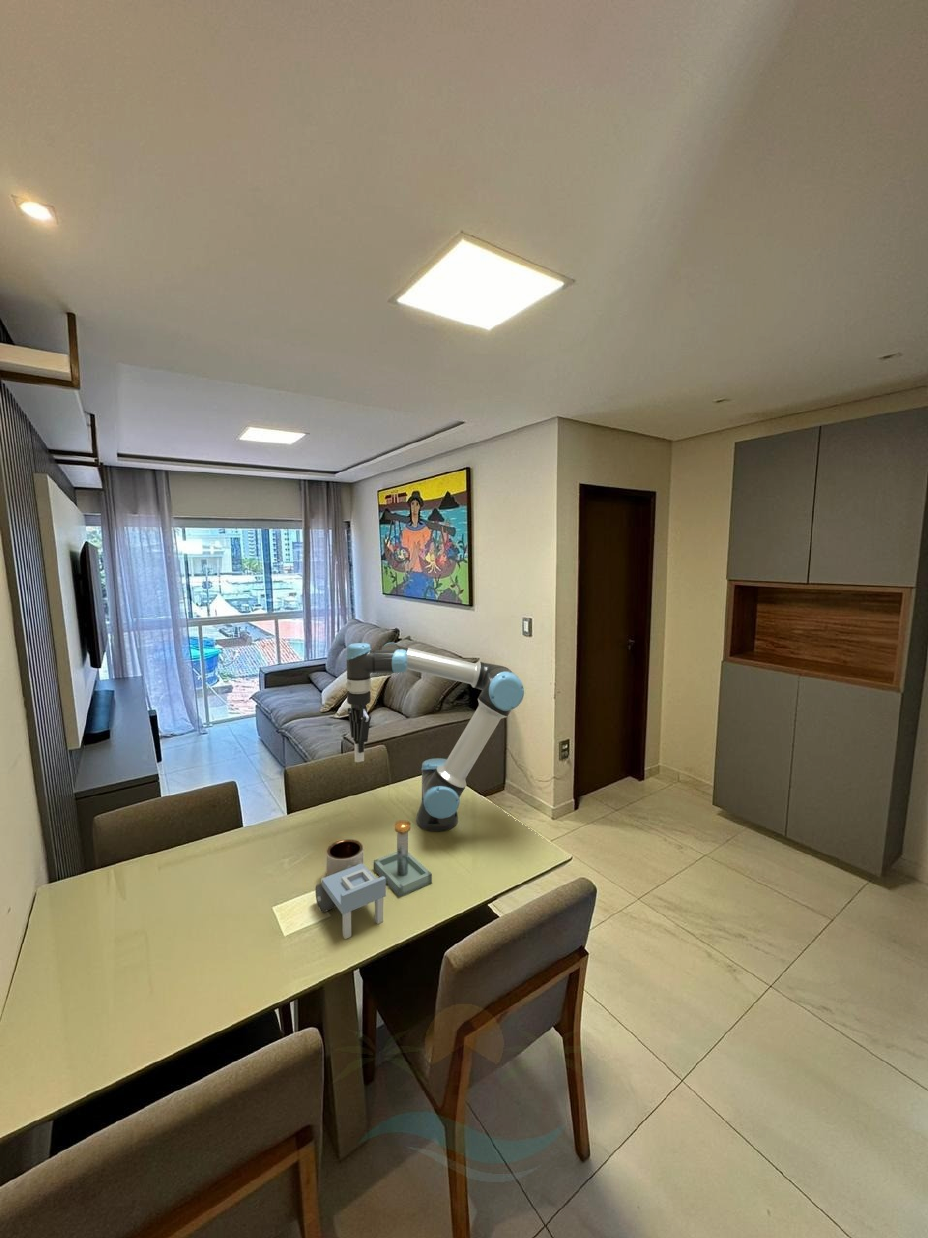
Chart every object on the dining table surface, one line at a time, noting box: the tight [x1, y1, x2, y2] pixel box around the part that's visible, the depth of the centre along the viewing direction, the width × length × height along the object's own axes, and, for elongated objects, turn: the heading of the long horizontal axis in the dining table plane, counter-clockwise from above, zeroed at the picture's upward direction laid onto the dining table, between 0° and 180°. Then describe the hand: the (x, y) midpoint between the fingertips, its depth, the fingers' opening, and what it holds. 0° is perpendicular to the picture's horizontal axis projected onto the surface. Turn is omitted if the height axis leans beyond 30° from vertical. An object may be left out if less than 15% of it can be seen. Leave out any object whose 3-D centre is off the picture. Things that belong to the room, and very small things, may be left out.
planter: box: [325, 839, 365, 877], centre depth 147 cm, size 11×11×10 cm
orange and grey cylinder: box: [394, 819, 411, 876], centre depth 148 cm, size 5×5×16 cm
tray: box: [373, 851, 433, 898], centre depth 149 cm, size 16×11×3 cm
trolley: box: [314, 863, 387, 940], centre depth 133 cm, size 18×14×12 cm
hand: (359, 760), depth 163 cm, fingers closed
